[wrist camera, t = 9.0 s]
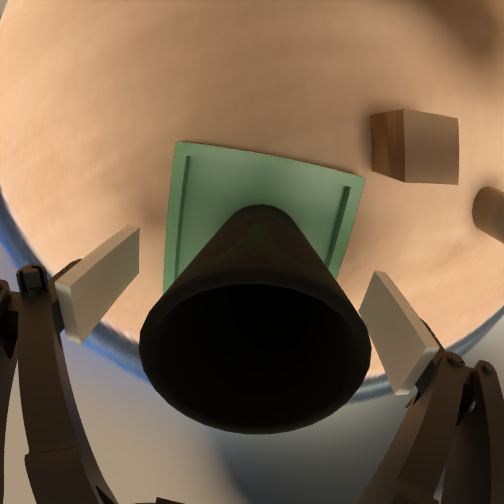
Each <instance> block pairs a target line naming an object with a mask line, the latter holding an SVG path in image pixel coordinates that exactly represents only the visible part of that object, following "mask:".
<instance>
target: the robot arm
mask: <svg viewBox="0 0 504 504" xmlns="http://www.w3.org/2000/svg"><path fill="white" fill-rule="evenodd" d="M139 230H140V228H139V227H133V226H126V227H125V228H123V229H122V230H120V231H119V232H118V233H116V234H115V235H114V236H112V237H111V238H110V239H108V240H107V241H105V242H104V243H103V244H102V245H100V246H99V247H98V248H96V249H95V250H94V251H92V252H91V253H90V254H89V255H87V256H86V257H85V258H83V259H78V260H76V261H73V262H71V263H70V264H68V265H67V266H66V267H65V269H64V268H63V269H62V270H61V271H60V273H59V272H58V273H57V274H56V275H55V276H53V277H52V278H51V279H50V280H49V281H47V275H46V270H45V267H43V266H42V265H38V264H31V265H27V266H24V267H22V268H21V269H19V270H18V271H17V274H16V277H17V281H18V286H19V289H20V292H12V291H10V288H9V284H8V282H7V281H5V280H0V504H3V496H4V445H5V431H6V421H7V413H8V406H9V399H10V393H11V388H12V382H13V377H14V373H15V368H16V364H17V360H18V372H19V387H20V396H21V405H22V412H23V419H24V426H25V431H26V436H27V441H28V446H29V454H27V455H25V466H26V471H27V474H28V478H29V481H30V485H31V488H32V491H33V494H34V497H35V500H36V503H37V504H118V502H117V500H116V499H115V497H114V495H113V493H112V492H111V490H110V488H109V487H108V485H107V484H106V482H105V480H104V478H103V476H102V473H101V471H100V469H99V467H98V464H97V462H96V460H95V457H94V455H93V452H92V450H91V447H90V445H89V442H88V439H87V437H86V434H85V431H84V428H83V425H82V422H81V419H80V416H79V413H78V410H77V406H76V403H75V399H74V396H73V392H72V388H71V384H70V380H69V376H68V372H67V367H66V363H65V358H64V353H63V347H62V341H61V337H60V333H61V332H62V331H63V329H65V332H66V336H67V339H68V340H71V341H73V342H76V343H78V344H81V345H82V343H83V342H84V341H85V339H86V338H87V337H88V335H89V334H90V333H91V331H92V330H93V329H94V328H95V326H96V325H97V324H98V322H99V321H100V320H101V318H102V317H103V316H104V315H105V313H106V312H107V311H108V310H109V308H110V307H111V306H112V305H113V303H114V302H115V301H116V300H117V298H118V297H119V296H120V295H121V293H122V292H123V291H124V290H125V289H126V287H127V286H128V285H129V284H130V282H131V281H132V280H133V279H134V278H135V277H136V275H137V274H138V273H139ZM359 313H360V315H361V318H362V320H363V322H364V323H365V325H366V326H367V330H368V333H369V335H370V337H371V340H372V342H373V344H374V346H375V349H376V351H377V353H378V355H379V358H380V360H381V363H382V365H383V367H384V370H385V372H386V374H387V377H388V379H389V382H390V384H391V387H392V389H393V392H394V394H395V395H401V394H409V392H410V391H411V390H412V388H413V387H414V386H415V385H416V387H417V389H418V391H417V393H416V394H415V395H414V397H413V398H412V399H411V401H410V402H409V403H408V404H407V405H406V408H408V407H409V408H408V411H407V413H406V415H405V417H404V419H403V422H402V424H401V426H400V428H399V430H398V432H397V434H396V436H395V438H394V440H393V442H392V443H391V445H390V447H389V449H388V451H387V453H386V454H385V456H384V458H383V460H382V461H381V463H380V465H379V467H378V468H377V470H376V472H375V473H374V475H373V476H372V478H371V480H370V481H369V483H368V484H367V486H366V487H365V489H364V490H363V492H362V493H361V495H360V496H359V497H358V499H357V500H356V502H355V503H354V504H439V501H438V500H435V499H434V498H433V496H434V493H435V490H436V488H437V485H438V483H439V480H440V477H441V474H442V472H443V469H444V466H445V476H444V484H443V492H442V499H441V504H504V400H503V395H502V391H501V388H500V384H499V380H498V377H497V373H496V371H495V369H494V367H493V366H492V365H491V364H490V363H489V362H486V361H483V360H480V361H478V362H477V364H476V365H475V367H474V368H470V367H466V366H465V362H464V361H463V360H462V358H461V357H460V356H458V355H457V354H455V353H453V352H446V351H445V350H444V348H443V347H442V345H441V344H440V342H439V341H438V339H437V338H436V337H435V335H434V333H433V332H431V329H430V328H429V326H428V325H427V324H426V323H425V322H424V321H423V320H422V319H421V318H419V316H418V315H417V313H416V312H415V311H414V309H413V308H412V307H411V305H410V304H409V302H408V301H407V300H406V298H405V297H404V296H403V294H402V293H401V292H400V290H399V289H398V288H397V286H396V285H395V284H394V283H393V281H392V280H391V279H390V277H389V276H388V275H387V274H386V273H385V272H380V271H374V273H373V276H372V279H371V281H370V284H369V287H368V289H367V292H366V294H365V297H364V299H363V302H362V304H361V307H360V309H359ZM474 404H475V406H474V409H473V410H472V407H473V405H474ZM445 463H446V464H445ZM136 504H183V503H179V502H174V501H170V500H166V499H162V498H158V497H157V499H156V503H136Z"/></svg>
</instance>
